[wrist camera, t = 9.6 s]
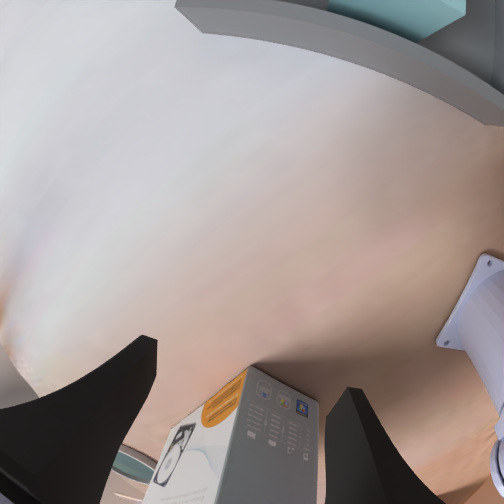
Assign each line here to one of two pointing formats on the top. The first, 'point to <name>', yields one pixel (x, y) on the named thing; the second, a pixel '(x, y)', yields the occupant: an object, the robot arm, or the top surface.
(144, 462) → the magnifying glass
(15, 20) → the top surface
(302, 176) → the top surface
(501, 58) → the grey crate
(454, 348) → the robot arm
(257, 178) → the top surface
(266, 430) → the hard drive box
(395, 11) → the teal mini crate
